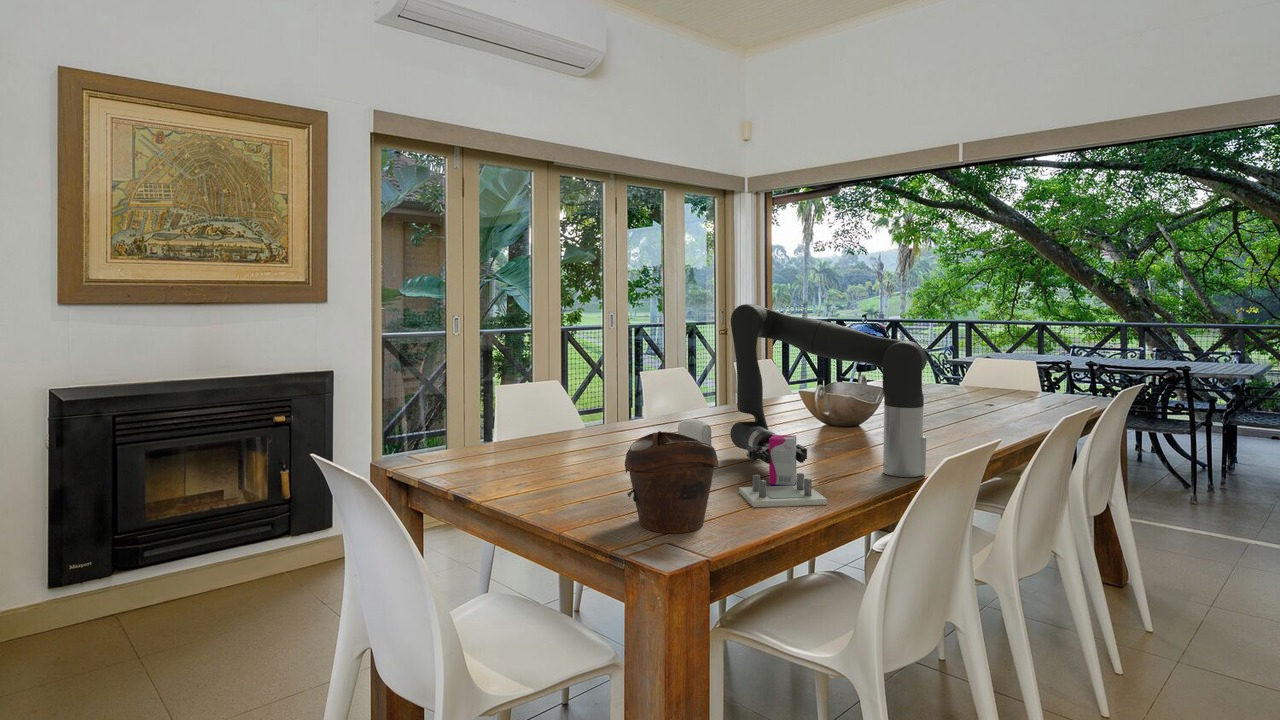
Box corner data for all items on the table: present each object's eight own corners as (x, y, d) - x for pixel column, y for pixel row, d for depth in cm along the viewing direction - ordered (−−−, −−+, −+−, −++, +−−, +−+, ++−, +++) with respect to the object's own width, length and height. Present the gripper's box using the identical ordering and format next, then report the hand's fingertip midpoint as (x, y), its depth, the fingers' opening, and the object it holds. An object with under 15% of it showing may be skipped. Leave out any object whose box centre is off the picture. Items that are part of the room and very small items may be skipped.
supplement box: (796, 482, 173) (797, 435, 172) (793, 488, 168) (794, 439, 167) (772, 480, 175) (772, 433, 174) (768, 486, 169) (768, 438, 169)
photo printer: (675, 463, 195) (675, 418, 194) (687, 461, 198) (687, 416, 197) (702, 470, 187) (702, 422, 186) (714, 467, 190) (714, 421, 189)
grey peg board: (807, 490, 166) (808, 470, 165) (826, 504, 154) (827, 482, 154) (739, 492, 164) (739, 472, 164) (753, 507, 152) (753, 485, 152)
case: (658, 503, 155) (657, 421, 153) (738, 521, 142) (738, 431, 140) (601, 525, 141) (600, 434, 139) (685, 547, 128) (684, 447, 127)
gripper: (738, 431, 184) (756, 443, 168) (793, 430, 185) (815, 442, 169) (738, 460, 185) (755, 475, 168) (793, 459, 186) (815, 473, 170)
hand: (785, 458), depth 169 cm, fingers closed on supplement box, 7 cm apart
